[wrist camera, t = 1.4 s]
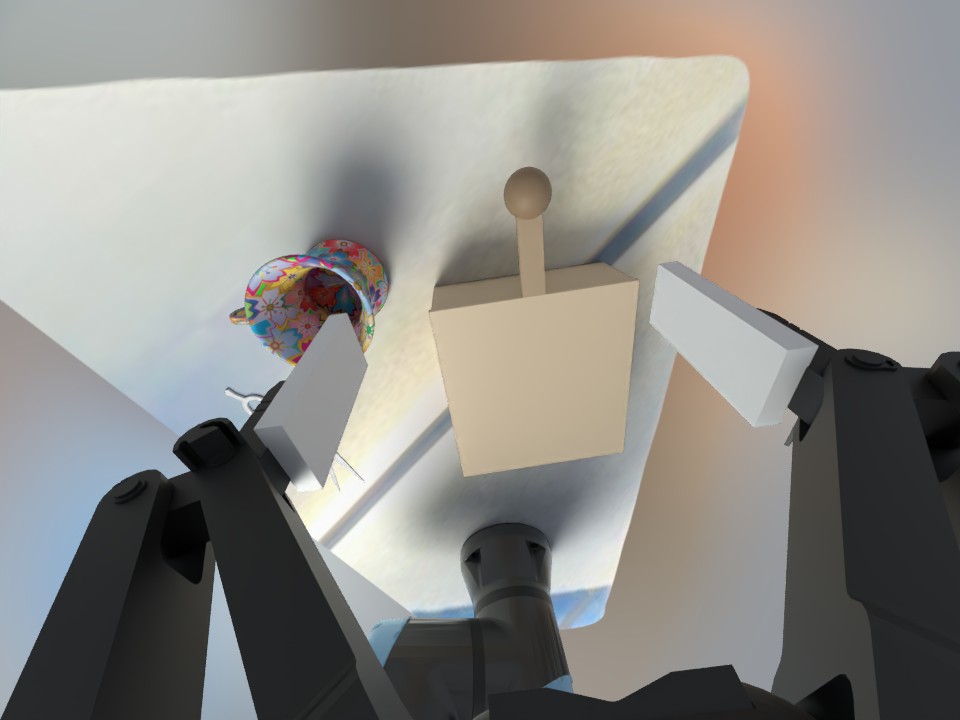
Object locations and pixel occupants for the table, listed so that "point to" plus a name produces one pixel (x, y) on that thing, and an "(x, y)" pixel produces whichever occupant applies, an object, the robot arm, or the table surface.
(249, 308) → the mug
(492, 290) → the box
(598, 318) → the lid
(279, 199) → the table surface
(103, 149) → the table surface
